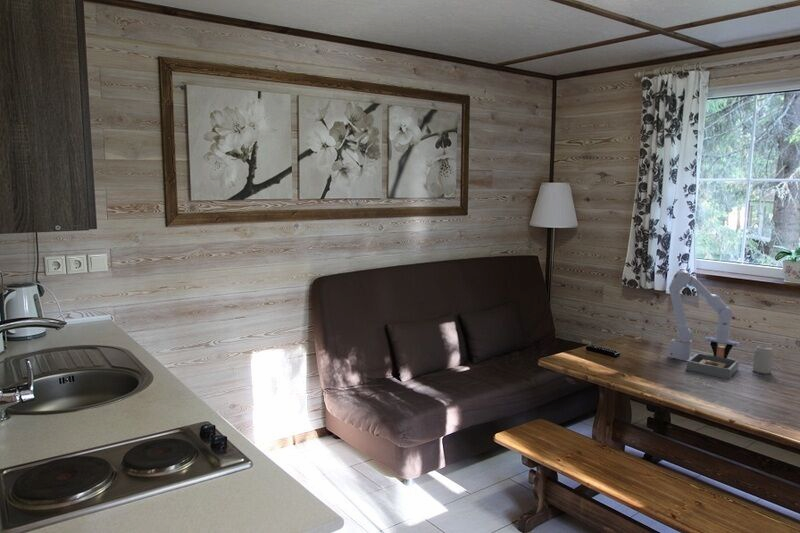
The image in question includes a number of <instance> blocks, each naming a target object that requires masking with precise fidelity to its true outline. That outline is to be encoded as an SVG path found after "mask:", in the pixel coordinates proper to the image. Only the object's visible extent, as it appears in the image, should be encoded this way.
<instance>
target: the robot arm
mask: <svg viewBox="0 0 800 533" xmlns="http://www.w3.org/2000/svg"><path fill="white" fill-rule="evenodd" d="M687 285H688V286H689V287H693V288H694V289H696V290H697V292H699V294H701V296H703V297H704V298H705V303H706V304H707V305H708V306H709V307H710V308H711V309H712V310H713V311H714V312H715V313H717V315H718V317H717V321H716V333H715V337H711V336H705V338H704V342H706V343H707V342H709V343H710V344H709V345H710V347H711V349H712V350H711V351H712V353H713V356H716V350H717V346H719V344H720V345H725V346H724V347H725V357H724V358H727V359H728V356H729V354H730V352H731V350H732V348H733V347H736V348H739V347H740V342H739V341H734V340H730V335H731V334H730V333H731V324H732V323H731V321H732V318H733V316H734V315H733V311H732V309H731V308H730V306H728V304H727V303H725V302H723V300H722V299H721V296H720V295H717V294H715V293H714V294H712V293H711V292H710V291H709V290H708V288H706V287H705V286H704V285H703V284H702V283H701V281H700V280H699V279H698V278H696V277H695V276H694V275H693V274H691V273H690V272H689V271H688V270H686V269H680V270H678V271H677V272H676V273H675V274H674V275H673V278H672V280H671V282H670V284H669V287H668V290H669V295H670V299H671V304H672V307H673V312H674V313H673V314H674V317H675V321H676V325H677V329H676V334H677V337H676V338H672V339H671V340H670V342H669V350H668V357H667V358H669V359H674V358H675V360H679V361H680V360H681V361H685V362H687V361H688V360H689V359H690V358H692V357H693V356H691V353H692V343H693V341H692V338H693V334H692V330H691V329H690V327H689V326H688V322H687V318H686V314H685V309H684V305H683V301H682V296H681V293H680V292H681V290H682V289H683V288H684V287H685V286H687Z"/></svg>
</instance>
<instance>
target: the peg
mask: <svg viewBox="0 0 800 533" xmlns="http://www.w3.org/2000/svg"><path fill="white" fill-rule="evenodd" d="M716 356H717V357H722V358H724V357H725V346H723V345H718V346H717V350H716Z"/></svg>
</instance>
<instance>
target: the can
mask: <svg viewBox="0 0 800 533" xmlns="http://www.w3.org/2000/svg"><path fill="white" fill-rule="evenodd" d="M753 353H754V355H753V363H752V364H753V365H752V370H753V371H754V372H755V373H758V374H762V375H768V374H770V373H772V368H773V359H774V351H773V348H772V347H770V346H766V345H757V346H756V348H754V352H753Z"/></svg>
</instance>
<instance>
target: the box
mask: <svg viewBox="0 0 800 533" xmlns="http://www.w3.org/2000/svg"><path fill="white" fill-rule="evenodd" d="M691 357H692V358H690V359H689V360H688V361H686V371H687V370H688V371H687V372H693V373H696V374H697V373H698V374H703V375H708V376H713V377H717V378H721V379H725V380H730V379H731V378H732V377H733V376H734V375H735V374H736V373H737V371H738V370H739V363H740V362H739V360H738V359H732V358H728V357H727V358H722V357H717V356H714V355H711V354H707V353H700V352H696V354H694V355H693V356H691Z"/></svg>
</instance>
